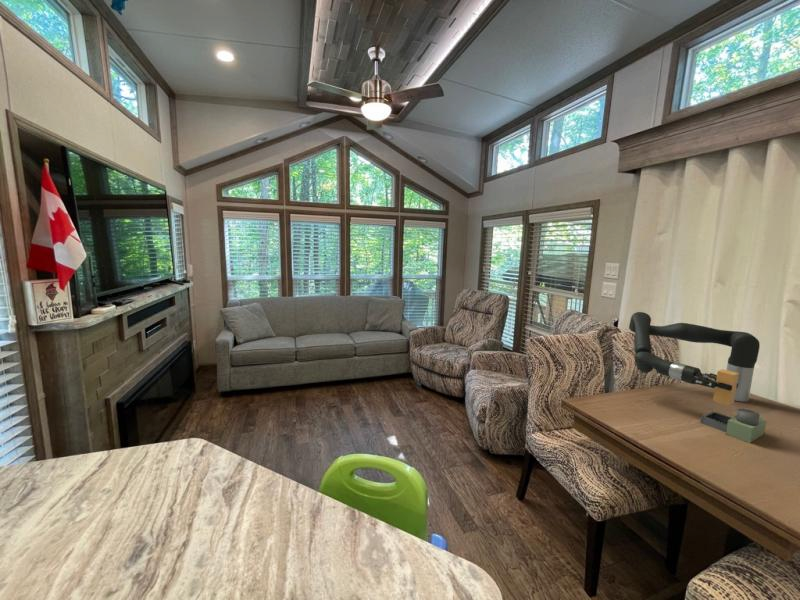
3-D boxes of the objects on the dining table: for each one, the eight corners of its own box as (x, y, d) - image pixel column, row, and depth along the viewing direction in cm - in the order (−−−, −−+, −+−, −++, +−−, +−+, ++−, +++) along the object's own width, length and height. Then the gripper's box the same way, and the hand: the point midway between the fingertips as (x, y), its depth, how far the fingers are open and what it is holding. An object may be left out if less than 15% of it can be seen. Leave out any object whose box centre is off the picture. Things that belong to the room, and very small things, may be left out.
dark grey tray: (711, 417, 147) (712, 411, 147) (738, 426, 140) (739, 420, 139) (700, 422, 143) (701, 416, 142) (728, 432, 135) (729, 425, 135)
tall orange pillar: (718, 398, 143) (722, 369, 141) (733, 403, 139) (738, 373, 137) (712, 400, 141) (717, 371, 139) (728, 405, 136) (733, 375, 134)
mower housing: (739, 425, 141) (743, 403, 139) (764, 433, 134) (768, 410, 133) (725, 433, 134) (728, 410, 133) (749, 443, 128) (754, 418, 126)
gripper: (690, 378, 155) (740, 392, 140) (675, 383, 148) (725, 399, 133) (693, 362, 154) (743, 375, 139) (677, 367, 147) (728, 381, 132)
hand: (734, 387), depth 136 cm, fingers closed on tall orange pillar, 5 cm apart
